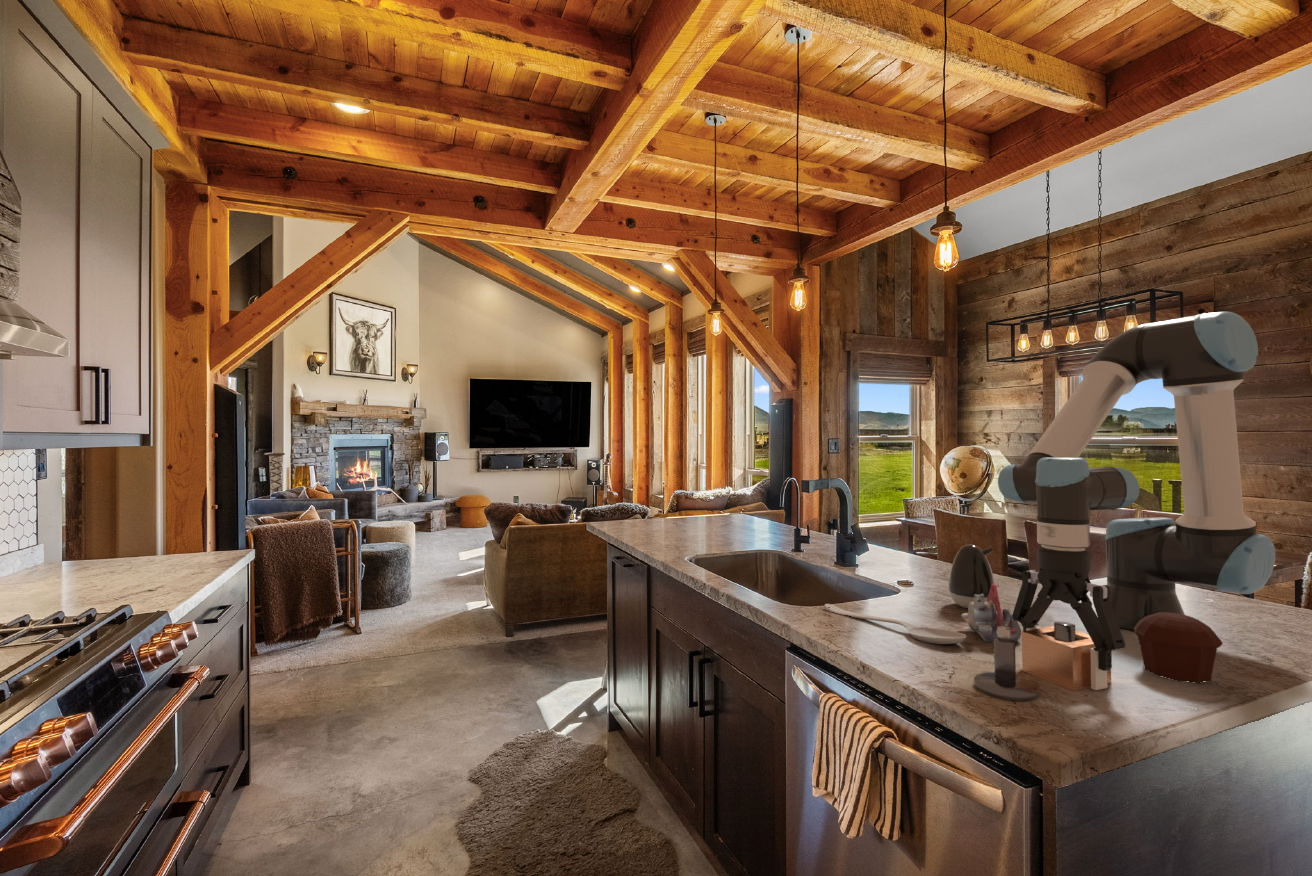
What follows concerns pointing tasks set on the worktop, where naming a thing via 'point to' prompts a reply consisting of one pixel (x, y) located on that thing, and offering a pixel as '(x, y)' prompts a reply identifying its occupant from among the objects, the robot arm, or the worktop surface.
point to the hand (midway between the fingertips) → (1065, 675)
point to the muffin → (1177, 646)
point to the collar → (1058, 658)
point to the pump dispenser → (970, 575)
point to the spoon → (910, 628)
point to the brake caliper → (990, 617)
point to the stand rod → (1064, 631)
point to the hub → (1005, 673)
